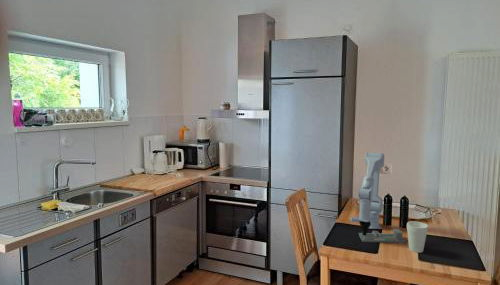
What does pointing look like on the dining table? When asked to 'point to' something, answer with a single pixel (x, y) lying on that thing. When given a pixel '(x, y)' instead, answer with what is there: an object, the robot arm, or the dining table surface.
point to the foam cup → (416, 235)
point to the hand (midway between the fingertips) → (364, 234)
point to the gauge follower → (375, 234)
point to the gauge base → (384, 237)
